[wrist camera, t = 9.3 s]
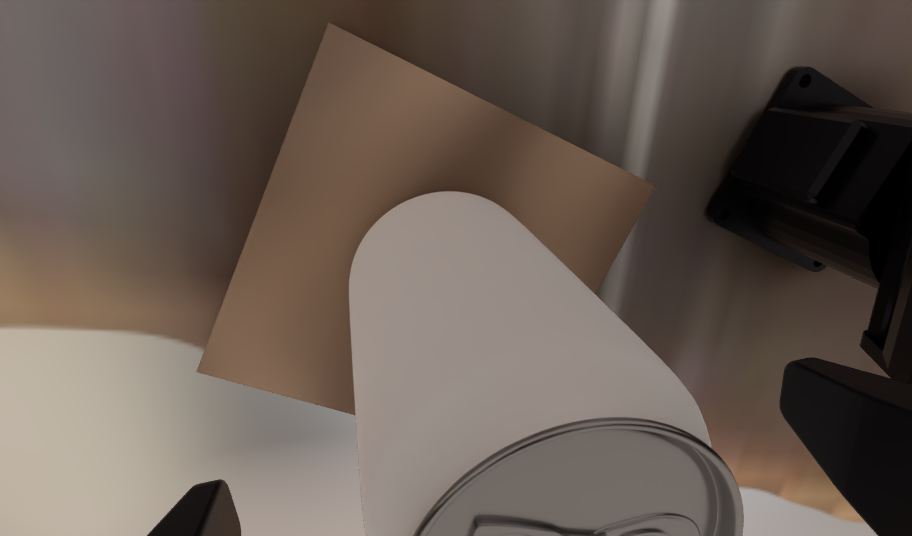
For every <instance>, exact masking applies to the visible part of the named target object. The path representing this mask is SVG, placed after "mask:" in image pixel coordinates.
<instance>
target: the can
mask: <svg viewBox="0 0 912 536" xmlns="http://www.w3.org/2000/svg"><path fill="white" fill-rule="evenodd" d="M349 310H350V329H351V347H352V365H353V382H354V399H355V415H356V431H357V445H358V446H357V447H358V462H359V476H360V490H361V501H362V511H363V520H364V528H365V533H366V536H742V534H743V523H744V515H743V504H742V499H741V494H740V491H739V488H738V485H737V483H736V480H735V478H734V476H733V474H732V473H731V471H730V469H729V468H728V466H727V465H726V463H725V462H724V461H723V460H722V458H721V457H720V456H719V455H718V454H717V453H716V452H715V451H714V450H713V449H712V446H711V442H710V438H709V434H708V431H707V427H706V424H705V422H704V419H703V416H702V414H701V411H700V409H699V407H698V405H697V403H696V402H695V400H694V398H693V397H692V395H691V394H690V393H689V391H688V390H687V389H686V387H685V386H684V385H683V383H682V382H681V381H680V380H679V378H678V377H677V376H676V375H675V374H674V373H673V372H672V371H671V370H670V368H669V367H668V366H667V365H666V364H665V363H664V362H663V361H662V360H661V359H660V358H659V357H658V356H657V355H656V354H655V353H654V352H653V351H652V350H651V349H650V348H649V347H648V346H647V345H646V344H645V343H644V342H643V341H642V340H641V339H640V338H639V337H638V336H637V335H636V334H635V333H634V332H633V331H632V330H631V329H630V328H629V327H628V326H627V325H626V324H625V323H624V322H623V321H622V320H621V319H620V318H619V317H618V316H617V315H616V314H615V313H614V312H613V311H612V310H611V309H610V308H609V307H608V306H606V305H605V304H604V303H603V302H602V301H601V300H600V299H599V298H598V297H597V296H596V295H595V294H594V293H593V292H592V291H591V290H590V289H589V288H588V287H587V286H586V285H585V284H584V283H583V282H582V281H581V280H580V279H579V278H578V277H577V276H576V275H575V274H574V273H573V272H572V271H570V270H569V269H568V268H567V267H566V266H565V265H564V264H563V263H562V262H561V261H560V260H559V259H558V258H557V257H556V256H555V255H554V254H553V253H552V252H551V251H550V250H549V249H548V248H547V247H546V246H545V245H544V244H542V243H541V242H540V241H539V240H538V239H537V238H536V237H535V236H534V235H533V234H532V233H531V232H530V231H529V230H528V229H527V228H526V227H525V226H523V225H522V224H521V223H520V222H519V221H518V220H517V219H516V218H515V217H514V216H512V215H511V214H510V213H509V212H508V211H506V210H505V209H504V208H502V207H501V206H499V205H498V204H496V203H494V202H492V201H490V200H488V199H486V198H483V197H481V196H478V195H474V194H470V193H465V192H456V191H443V192H434V193H429V194H424V195H421V196H417V197H415V198H412V199H409V200H407V201H405V202H403V203H401V204H399V205H398V206H396V207H394V208H393V209H391V210H390V211H388V212H387V213H386V214H385V215H383V216H382V217H381V218H380V219H379V220H378V221H377V222H376V223H375V224H374V225H373V226H372V227H371V228H370V230H369V231H368V232H367V234H366V235H365V236H364V238H363V240H362V241H361V243H360V245H359V247H358V249H357V251H356V254H355V256H354V259H353V262H352V266H351V271H350V278H349Z"/></svg>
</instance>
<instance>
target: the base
mask: <svg viewBox="0 0 912 536" xmlns="http://www.w3.org/2000/svg"><path fill="white" fill-rule="evenodd" d="M655 187H656V186H655V185H653V184H651V183H649V182H647V181H645V180H643V179H641V178H639V177H637V176H635V175H633V174H631V173H629V172H627V171H625V170H623V169H621V168H619V167H617V166H615V165H613V164H611V163H609V162H607V161H605V160H603V159H601V158H599V157H597V156H595V155H593V154H591V153H589V152H587V151H585V150H583V149H581V148H579V147H577V146H575V145H573V144H571V143H569V142H567V141H565V140H563V139H561V138H559V137H557V136H555V135H553V134H551V133H549V132H547V131H545V130H543V129H541V128H539V127H537V126H535V125H533V124H531V123H529V122H527V121H525V120H523V119H521V118H519V117H517V116H515V115H513V114H511V113H509V112H507V111H505V110H503V109H501V108H499V107H497V106H495V105H493V104H491V103H489V102H487V101H485V100H483V99H481V98H479V97H477V96H475V95H473V94H471V93H469V92H467V91H465V90H463V89H461V88H459V87H457V86H455V85H453V84H451V83H449V82H447V81H445V80H443V79H441V78H439V77H437V76H435V75H433V74H431V73H429V72H427V71H425V70H423V69H421V68H419V67H417V66H415V65H413V64H411V63H409V62H407V61H405V60H403V59H401V58H399V57H397V56H395V55H393V54H391V53H389V52H387V51H385V50H383V49H381V48H379V47H377V46H375V45H373V44H371V43H369V42H367V41H365V40H363V39H361V38H359V37H357V36H355V35H353V34H351V33H349V32H347V31H345V30H343V29H341V28H339V27H337V26H335V25H333V24H331V23H328V25H327V28H326V30H325V33H324V36H323V38H322V41H321V44H320V46H319V49H318V52H317V54H316V57H315V60H314V62H313V65H312V68H311V70H310V73H309V75H308V78H307V81H306V83H305V86H304V89H303V91H302V94H301V97H300V99H299V102H298V105H297V107H296V110H295V113H294V115H293V118H292V120H291V123H290V126H289V128H288V131H287V134H286V136H285V139H284V142H283V144H282V147H281V150H280V152H279V155H278V158H277V160H276V163H275V165H274V168H273V171H272V173H271V176H270V179H269V181H268V184H267V187H266V189H265V192H264V195H263V197H262V200H261V203H260V205H259V208H258V210H257V213H256V216H255V218H254V221H253V224H252V226H251V229H250V232H249V234H248V237H247V240H246V242H245V245H244V248H243V250H242V253H241V255H240V258H239V261H238V263H237V266H236V269H235V271H234V274H233V277H232V279H231V282H230V285H229V287H228V290H227V293H226V295H225V298H224V300H223V303H222V306H221V308H220V311H219V314H218V316H217V319H216V322H215V324H214V327H213V330H212V332H211V335H210V338H209V340H208V343H207V345H206V348H205V351H204V353H203V356H202V359H201V361H200V364H199V367H198V369H197V372H199V373H203V374H206V375H210V376H214V377H217V378H221V379H225V380H229V381H232V382H236V383H239V384H243V385H247V386H250V387H254V388H258V389H261V390H265V391H269V392H272V393H276V394H280V395H283V396H287V397H291V398H295V399H298V400H302V401H305V402H309V403H313V404H316V405H320V406H324V407H327V408H331V409H335V410H338V411H342V412H346V413H349V414H353V415H355V399H354V382H353V365H352V347H351V329H350V310H349V278H350V271H351V266H352V262H353V259H354V256H355V254H356V251H357V249H358V247H359V245H360V243H361V241H362V240H363V238H364V236H365V235H366V234H367V232H368V231H369V230H370V228H371V227H372V226H373V225H374V224H375V223H376V222H377V221H378V220H379V219H380V218H381V217H382V216H383V215H385V214H386V213H387V212H388V211H390V210H391V209H393V208H394V207H396V206H398V205H399V204H401V203H403V202H405V201H407V200H409V199H412V198H415V197H417V196H421V195H424V194H429V193H434V192H443V191H456V192H465V193H470V194H474V195H478V196H481V197H483V198H486V199H488V200H490V201H492V202H494V203H496V204H498V205H499V206H501V207H502V208H504V209H505V210H506V211H508V212H509V213H510V214H511V215H512V216H514V217H515V218H516V219H517V220H518V221H519V222H520V223H521V224H522V225H523V226H525V227H526V228H527V229H528V230H529V231H530V232H531V233H532V234H533V235H534V236H535V237H536V238H537V239H538V240H539V241H540V242H541V243H542V244H544V245H545V246H546V247H547V248H548V249H549V250H550V251H551V252H552V253H553V254H554V255H555V256H556V257H557V258H558V259H559V260H560V261H561V262H562V263H563V264H564V265H565V266H566V267H567V268H568V269H569V270H570V271H572V272H573V273H574V274H575V275H576V276H577V277H578V278H579V279H580V280H581V281H582V282H583V283H584V284H585V285H586V286H587V287H588V288H589V289H590V290H591V291H592V292H593V293H594V294H595V293H596V291H597V289H598V288H599V286H600V284H601V282H602V281H603V279H604V277H605V275H606V274H607V272H608V270H609V268H610V266H611V265H612V263H613V261H614V259H615V258H616V256H617V254H618V252H619V251H620V249H621V247H622V245H623V244H624V242H625V240H626V238H627V237H628V235H629V233H630V231H631V230H632V228H633V226H634V224H635V223H636V221H637V219H638V217H639V216H640V214H641V212H642V210H643V208H644V207H645V205H646V203H647V201H648V200H649V198H650V196H651V194H652V193H653V191H654V189H655Z"/></svg>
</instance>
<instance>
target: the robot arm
mask: <svg viewBox="0 0 912 536" xmlns="http://www.w3.org/2000/svg"><path fill="white" fill-rule="evenodd" d="M802 76H803V82H802V84H801V85H800V86H799V80H800V78H801V77H802ZM722 208H724V211H723V214H722V215H721V216H718V214H719V211H720V210H721V209H722ZM707 217H708V219H709V220H710V221H711V222H713V223H715V224H717V225H719V226H721V227H723V228H725V229H727V230H729V231H731V232H733V233H735V234H737V235H739V236H741V237H743V238H745V239H747V240H749V241H751V242H753V243H755V244H757V245H759V246H761V247H763V248H765V249H767V250H769V251H771V252H773V253H775V254H777V255H779V256H782V257H784V258H786V259H788V260H790V261H792V262H794V263H796V264H798V265H800V266H802V267H804V268H806V269H808V270H810V271H812V272H819V271H821V270H822V269H824V268H825V267H826V266H829V267H831V268H833V269H836V270H838V271H840V272H842V273H844V274H847V275H849V276H851V277H853V278H855V279H858V280H860V281H862V282H864V283H866V284H868V285H871V286H873V287H875V288H877V289H878V291H877V295H876V299H875V303H874V307H873V311H872V315H871V318H870V322H869V326H868V330H865V331H864V332H863V336H862V339H861V343H860V346H861V348H862V349H863V350H864V351H865V352H866V353H867V354H868V355H869V356H870V357H871V358H872V359H873V360H874V361H875V362H876V363H877V364H878V365H879V366H880V367H881V368H882V369H883V370H884V371H885V373H886V374H887V375H888V376H889V377H890V378H891V379H890V378H887V377H883V376H879V375H876V374H872V373H869V372H865V371H861V370H858V369H854V368H850V367H847V366H843V365H840V364H836V363H832V362H829V361H825V360H821V359H818V358H805V359H800V360H795V361H791V362H789V363H788V364H787V365H786V367H785V369H784V375H783V382H782V388H781V395H780V409H781V413H782V415H783V417H784V418H785V420H786V421H787V423H788V424H789V425H790V427H791V428H792V429H793V431H794V432H795V433H796V435H797V436H798V437H799V439H800V440H801V441H802V443H803V444H804V445H805V447H806V448H807V449H808V451H809V452H810V453H811V455H812V456H813V457H814V459H815V460H816V461H817V463H818V464H819V465H820V467H821V468H822V469H823V471H824V472H825V473H826V475H827V476H828V477H829V479H830V480H831V481H832V483H833V484H834V485H835V486H836V488H837V489H838V490H839V492H840V493H841V494H842V495H843V497H844V498H845V499H846V500H847V501H848V502H849V504H850V505H851V506H852V507H853V508H854V509H855V511H856V512H857V513H858V514H859V515H860V516H861V517H862V518H863V519H864V521H865V522H866V523H867V524H868V525H869V526H870V527H871V528H872V529H873V530H874V532H875V533H876V534H877V535H878V536H912V113H907V112H899V111H891V110H883V109H875V108H872V107H871V106H869V105H868V104H866V103H865V102H863V101H862V100H860V99H859V98H857V97H856V96H854V95H853V94H851V93H850V92H848V91H847V90H845V89H844V88H842V87H841V86H839V85H838V84H836V83H835V82H833V81H832V80H830V79H829V78H827V77H826V76H824V75H822V74H821V73H819V72H818V71H816V70H815V69H813V68H811V67H802V66H800V67H796V68H794V69H792V70H791V71H790V73H789V74H788V75H787V77H786V79H785V80H784V82H783V84H782V85H781V87H780V89H779V90H778V92H777V94H776V95H775V97H774V99H773V100H772V102H771V104H770V105H769V107H768V108H767V110H766V112H765V113H764V115H763V117H762V118H761V120H760V122H759V123H758V125H757V127H756V128H755V130H754V132H753V133H752V135H751V137H750V138H749V140H748V142H747V143H746V145H745V147H744V148H743V150H742V152H741V153H740V155H739V157H738V158H737V160H736V162H735V163H734V165H733V167H732V168H731V170H730V172H729V173H728V175H727V177H726V178H725V180H724V182H723V183H722V185H721V187H720V188H719V190H718V192H717V193H716V195H715V197H714V198H713V200H712V202H711V203H710V205H709V207H708V209H707ZM814 260H815V261H814ZM147 536H241V527H240V522H239V518H238V515H237V512H236V509H235V506H234V502H233V499H232V496H231V493H230V490H229V487H228V485H227V484H226V482H225V481H223V480H215V481H210V482H206V483H200V484H197V485H195V486H193V487H192V488H191V489H190V490H189V491H188V492H187V493H186V494H185V495H184V496H183V497H182V499H180V500H179V502H178V503H177V504H176V505H175V506H174V507H173V508H172V509H171V510H170V511H169V513H167V515H166V516H165V517H164V518H163V519H162V520H161V521H160V522H159V523H158V524H157V525H156V527H154V529H153V530H152V531H151V532H150V533H149V534H148V535H147Z"/></svg>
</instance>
